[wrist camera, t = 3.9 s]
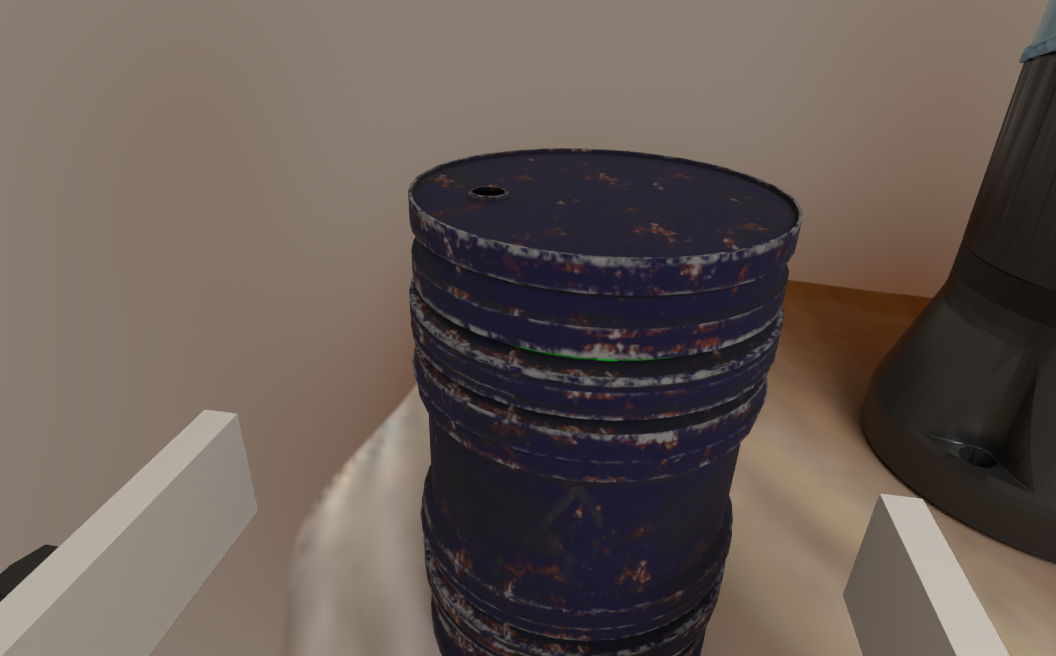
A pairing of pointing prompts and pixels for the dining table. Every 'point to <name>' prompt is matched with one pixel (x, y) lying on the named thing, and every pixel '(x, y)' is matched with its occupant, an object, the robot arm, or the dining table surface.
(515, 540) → the dark blue ribbed cylinder
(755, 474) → the dining table surface
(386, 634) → the dining table surface
